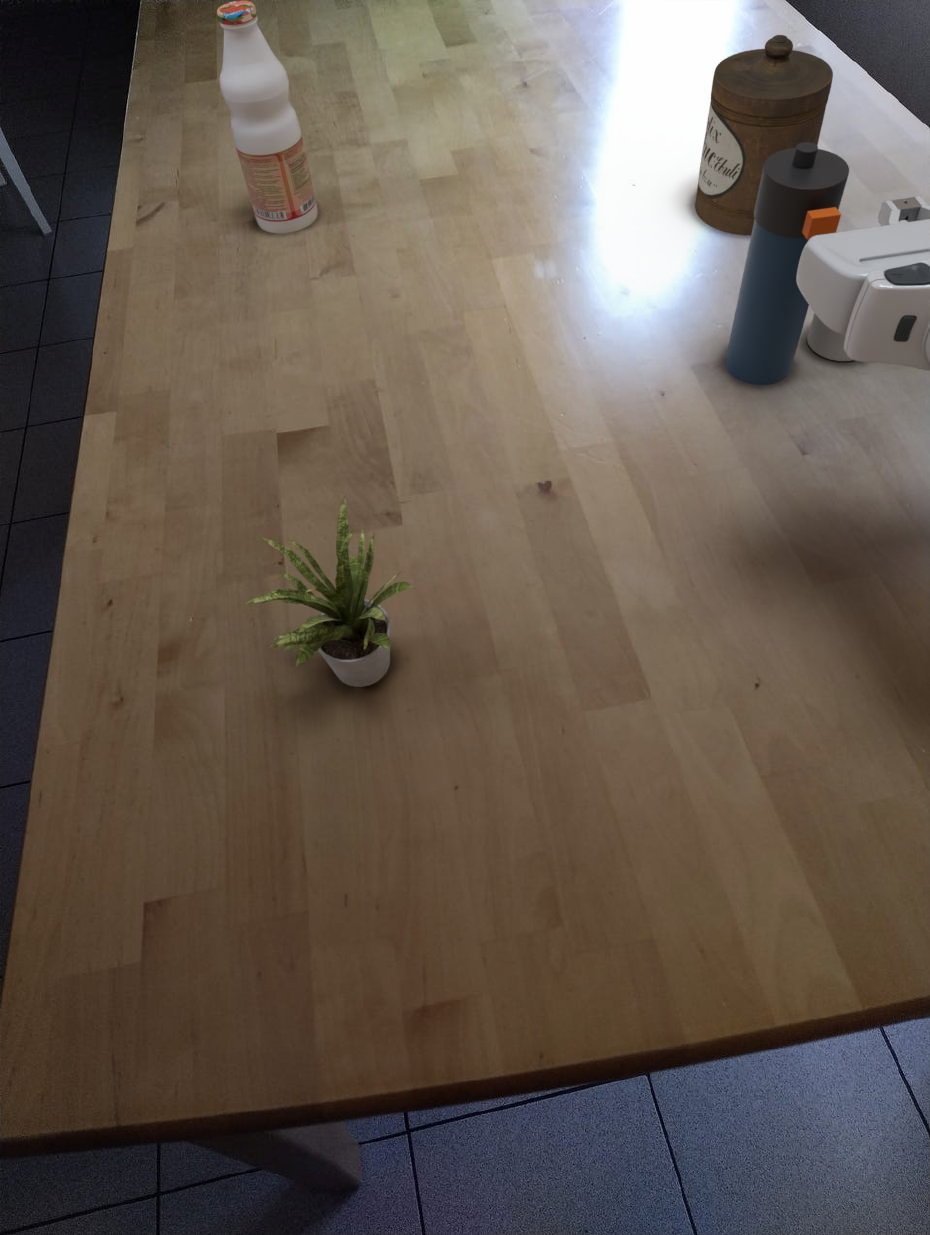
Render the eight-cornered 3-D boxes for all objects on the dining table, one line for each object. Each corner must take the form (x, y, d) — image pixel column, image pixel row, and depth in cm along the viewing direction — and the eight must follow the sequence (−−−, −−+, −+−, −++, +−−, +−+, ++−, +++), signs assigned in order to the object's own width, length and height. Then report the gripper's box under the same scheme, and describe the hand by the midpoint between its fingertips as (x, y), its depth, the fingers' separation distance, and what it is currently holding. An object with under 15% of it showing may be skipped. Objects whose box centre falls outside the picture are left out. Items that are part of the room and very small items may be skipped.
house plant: (289, 604, 88) (245, 491, 75) (425, 590, 88) (404, 475, 75) (282, 728, 80) (230, 625, 66) (431, 713, 79) (409, 607, 66)
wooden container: (688, 186, 129) (711, 17, 111) (790, 181, 128) (831, 9, 110) (700, 242, 120) (727, 68, 102) (810, 237, 119) (857, 60, 101)
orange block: (835, 236, 84) (841, 214, 82) (806, 240, 84) (812, 218, 82) (829, 228, 84) (836, 206, 83) (801, 232, 84) (807, 210, 83)
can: (792, 347, 106) (817, 257, 96) (830, 320, 108) (858, 229, 98) (844, 375, 102) (876, 284, 92) (883, 347, 104) (917, 255, 95)
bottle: (801, 384, 102) (867, 165, 81) (734, 394, 102) (783, 177, 81) (778, 343, 106) (835, 126, 86) (714, 352, 106) (755, 136, 86)
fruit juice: (265, 244, 128) (205, 29, 105) (252, 213, 133) (192, 2, 111) (326, 227, 129) (280, 12, 107) (310, 198, 135) (263, -13, 112)
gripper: (1144, 246, 60) (1041, 149, 68) (852, 288, 59) (783, 186, 68) (1097, 324, 65) (1006, 225, 73) (828, 363, 65) (767, 260, 73)
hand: (897, 207), depth 70 cm, fingers closed
